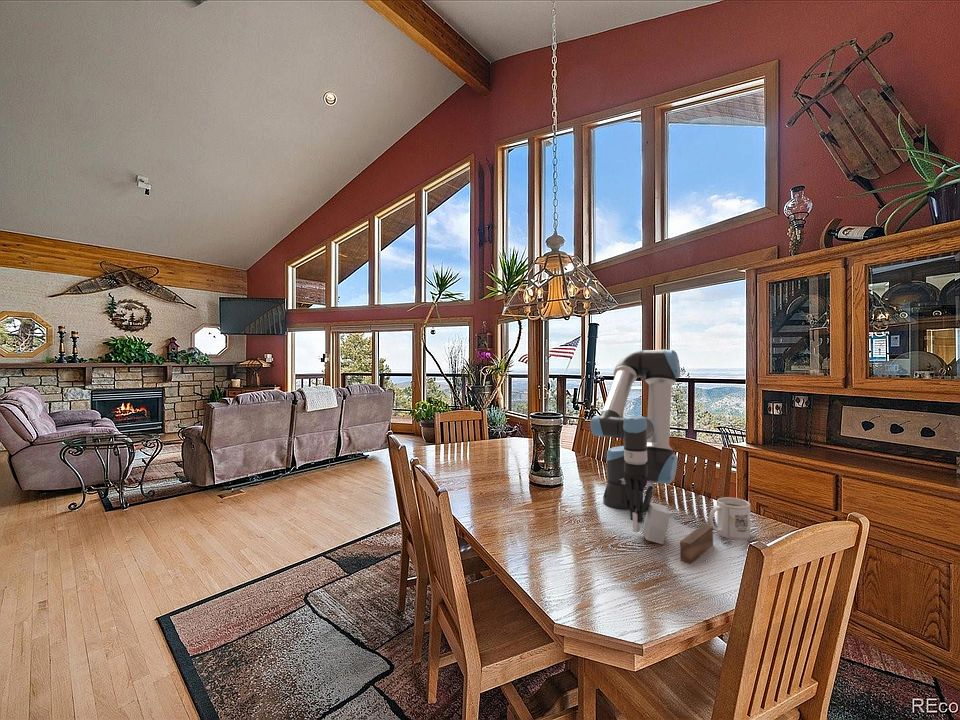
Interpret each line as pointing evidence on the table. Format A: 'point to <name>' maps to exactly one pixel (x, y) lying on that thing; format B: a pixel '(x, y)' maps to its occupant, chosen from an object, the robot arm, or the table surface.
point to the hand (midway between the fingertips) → (636, 530)
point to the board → (696, 543)
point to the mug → (732, 518)
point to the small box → (656, 523)
